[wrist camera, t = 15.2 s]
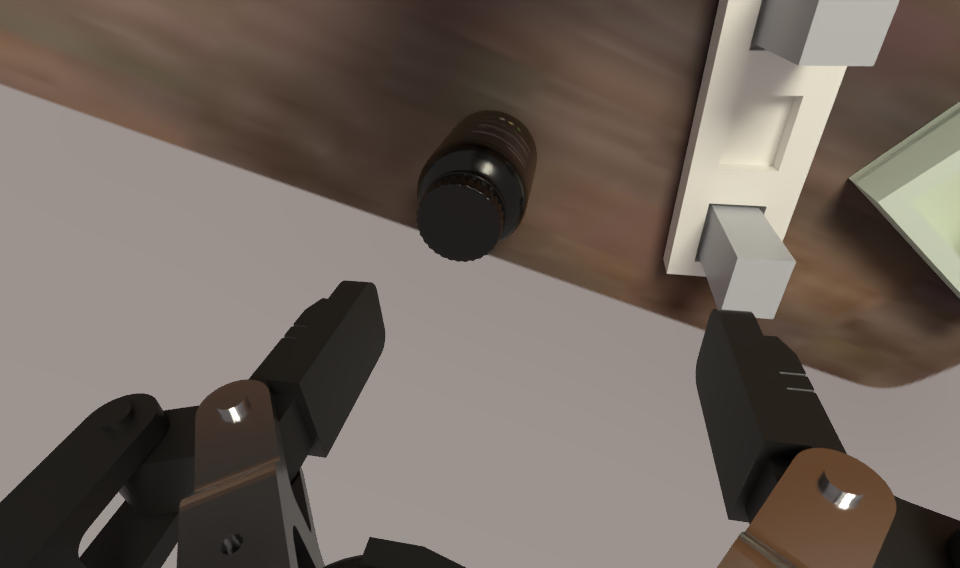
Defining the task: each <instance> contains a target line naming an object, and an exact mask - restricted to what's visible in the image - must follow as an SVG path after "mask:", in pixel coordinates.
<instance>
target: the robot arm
mask: <svg viewBox="0 0 960 568" xmlns="http://www.w3.org/2000/svg"><path fill="white" fill-rule="evenodd" d="M384 342H385V328H384V323H383V318H382V313H381V308H380V303H379V298H378V293H377V289H376V286H375V285H374V284H373V283H371V282H370V283H369V282H357V281H342V282H341V283H340V284H339V285H338V287H337V288H336V289H335V291H334V292H333V293H332V294H331V296H330V297H329V298H328V299H325V298H322V299H321V300H319V301H318V302H316V303H315V304H313V305H312V306H310V307H309V308H307V309H306V310H305V311H304V312H303V313H302V314H301V316H300V317H299V318H298V319H297V320H296V322H295V323H294V326H293V327H291V328H290V329H289V330H288V331H287V333H286V334H285V337H284V338H282V339H281V340H280V341H279V343H278V344H277V345H276V346H275V347H274V349H273V350H272V351H271V352H270V354H269V355H268V356H267V357H266V359H265V360H264V361H263V362H262V364H261V365H260V366H259V367H258V369H257V370H256V371H255V372H254V373H253V375H252V376H251V377H250V378H249V379H248V380H240V381H235V382H232V383H229V384H226V385H224V386H222V387H220V388H218V389H217V390H215V391H214V392H212V393H211V394H210V395H208V396H207V397H206V398H205V399H204V400H203V402H202V403H201V404H200V406H193V407H186V408H179V409H172V410H165V411H163V410H162V408H161V407H160V405H159V403H158V402H157V400H156V399H155V398H154V397H153V396H151V395H148V394H131V395H126V396H123V397H120V398H117V399H115V400H112V401H110V402H108V403H107V404H105V405H103V406H101V407H100V408H98V409H97V410H96V411H94V412H93V413H92V414H91V415H89V416H88V417H87V418H86V419H85V420H84V421H83V422H82V423H81V424H80V425H79V426H78V427H77V428H76V429H75V430H74V431H73V432H72V433H71V434H70V435H69V436H68V437H67V438H66V439H65V440H64V441H63V442H62V443H61V444H59V445H58V447H56V448H55V449H54V450H53V451H52V452H51V453H50V454H49V455H48V457H46V458H45V459H44V460H43V461H42V462H41V463H40V464H39V465H38V466H37V467H36V468H35V469H34V470H33V471H32V472H31V473H30V474H29V475H28V476H27V477H26V478H25V479H24V480H23V481H22V482H21V483H20V484H19V485H18V486H17V487H16V488H15V489H14V490H13V491H12V492H11V493H10V494H8V496H7V497H6V498H4V499H3V500H2V501H1V502H0V568H161V567H162V565H163V564H164V562H165V561H166V559H167V557H168V556H169V555H170V553H171V551H172V550H173V548H174V547H175V545H176V544H177V542H178V550H177V568H465V567H463V566H461V565H459V564H457V563H455V562H453V561H451V560H449V559H447V558H445V557H443V556H441V555H439V554H437V553H435V552H433V551H431V550H429V549H427V548H425V547H422V546H417V545H412V544H406V543H400V542H395V541H389V540H384V539H377V538H372V537H370V538H369V540H368V543H367V546H366V548H365V551H364V553H363V555H359V556H354V557H350V558H346V559H342V560H340V561H337V562H334V563H331V564H329V565H327V566H325V565H324V562H323V559H322V556H321V553H320V549H319V546H318V542H317V537H316V533H315V528H314V523H313V518H312V513H311V508H310V503H309V498H308V494H307V489H306V484H305V479H304V474H303V471H302V468H301V466H302V464H303V462H304V460H305V458H306V457H307V455H312V456H319V457H325V458H326V457H327V455H328V453H329V451H330V449H331V448H332V446H333V444H334V442H335V440H336V438H337V436H338V434H339V432H340V431H341V429H342V427H343V425H344V423H345V421H346V419H347V417H348V416H349V413H350V412H351V410H352V408H353V406H354V404H355V402H356V400H357V399H358V397H359V395H360V393H361V391H362V389H363V387H364V385H365V383H366V382H367V380H368V378H369V376H370V374H371V372H372V370H373V368H374V367H375V365H376V363H377V361H378V359H379V357H380V355H381V353H382V351H383V348H384ZM805 374H806V373H805V371H804V369H803V367H802V365H801V363H800V361H799V359H798V357H797V355H796V353H794V352H793V351H792V350H791V349H790V348H789V347H788V346H787V345H786V344H785V343H783V342H782V341H781V340H780V339H779V338H778V337H775V336H763V334H762V332H761V329H760V327H759V325H758V323H757V320H756V318H755V316H754V314H753V313H752V312H749V311H736V310H722V309H713V310H712V312H711V314H710V317H709V320H708V324H707V327H706V331H705V335H704V338H703V341H702V345H701V348H700V352H699V356H698V359H697V365H696V385H697V389H698V394H699V398H700V402H701V407H702V411H703V415H704V419H705V423H706V427H707V432H708V436H709V440H710V444H711V448H712V453H713V457H714V461H715V465H716V469H717V474H718V478H719V482H720V486H721V490H722V495H723V499H724V503H725V507H726V511H727V515H728V519H729V520H736V521H743V522H749V524H750V526H749V527H748V528H747V530H746V531H745V532H742V533H741V534H740V535H739V536H738V538H737V539H736V540H735V542H734V543H733V545H732V546H731V548H730V549H729V551H728V552H727V554H726V555H725V557H724V558H723V560H722V561H721V562H720V564H719V565H718V567H717V568H960V521H959V520H956V519H953V518H951V517H948V516H945V515H942V514H940V513H937V512H934V511H932V510H929V509H926V508H923V507H920V506H918V505H915V504H912V503H910V502H907V501H905V500H902V499H900V498H898V497H896V496H894V495H893V493H892V491H891V490H890V488H889V486H888V485H887V484H886V482H885V481H884V480H883V479H882V478H881V477H880V476H879V475H878V474H877V473H876V472H875V471H874V470H872V469H871V468H870V467H868V466H867V465H866V464H864V463H862V462H861V461H859V460H858V459H856V458H853V457H851V456H849V455H847V454H846V451H845V450H844V447H843V446H842V444H841V442H840V440H839V438H838V436H837V434H836V432H835V430H834V428H833V426H832V424H831V422H830V420H829V418H828V416H827V414H826V412H825V410H824V408H823V406H822V404H821V402H820V400H819V398H818V396H817V394H816V393H814V392H813V391H814V388H813V386H812V384H811V382H810V380H809V379H808V377H806V376H805ZM118 491H119V493H120V494H121V495H122V496H123V497H124V499H125V501H124V503H123V504H122V505H121V506H120V508H119V509H118V510H117V511H116V513H115V514H114V515H113V516H112V518H111V519H110V520H109V522H108V523H107V524H106V525H105V526H104V528H103V529H102V530H101V531H100V533H99V534H98V535H97V536H96V538H95V539H94V540H93V542H92V543H91V544H90V545H89V547H88V548H87V549H86V550H85V552H84V553H83V554H82V556H81V557H80V558H79V556H78V549H79V544H80V541H81V539H82V537H83V535H84V534H85V532H86V531H87V529H88V528H89V527H90V526H91V524H92V523H93V522H94V520H96V518H97V517H98V516H99V515H100V513H101V512H102V511H103V510H104V509H105V507H106V506H107V505H108V504H109V502H110V501H111V500H112V499H113V497H114V496H115V495H116V494H117V493H118Z"/></svg>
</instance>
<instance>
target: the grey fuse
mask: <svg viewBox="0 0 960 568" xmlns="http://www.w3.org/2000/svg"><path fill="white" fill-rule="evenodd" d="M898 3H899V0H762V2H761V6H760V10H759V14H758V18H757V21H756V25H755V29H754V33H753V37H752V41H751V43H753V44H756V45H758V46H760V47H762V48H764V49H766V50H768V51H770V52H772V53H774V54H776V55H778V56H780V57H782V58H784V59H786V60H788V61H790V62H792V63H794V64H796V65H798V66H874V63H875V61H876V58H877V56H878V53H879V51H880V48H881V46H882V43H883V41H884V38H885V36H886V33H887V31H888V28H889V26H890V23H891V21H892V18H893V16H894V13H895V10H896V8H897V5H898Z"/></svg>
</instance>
